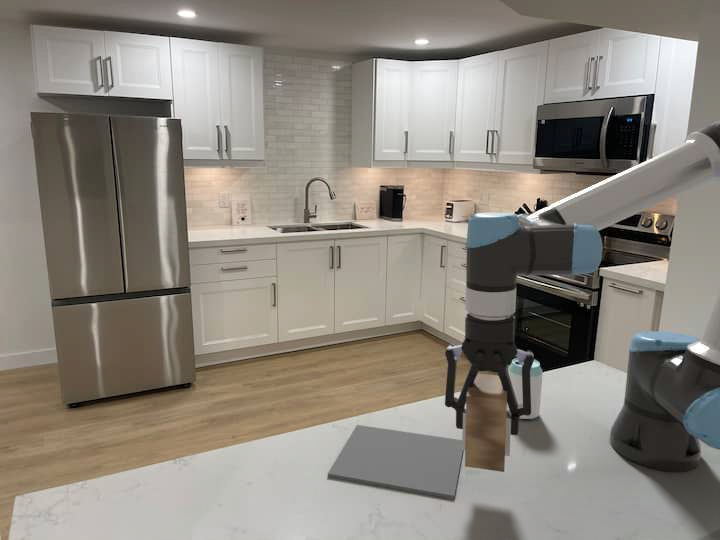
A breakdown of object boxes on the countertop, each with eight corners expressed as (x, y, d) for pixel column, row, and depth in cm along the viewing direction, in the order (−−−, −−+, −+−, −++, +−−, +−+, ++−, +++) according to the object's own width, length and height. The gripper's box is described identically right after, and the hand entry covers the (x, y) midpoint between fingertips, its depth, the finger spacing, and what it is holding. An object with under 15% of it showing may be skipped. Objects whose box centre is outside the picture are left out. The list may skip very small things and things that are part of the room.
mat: (464, 443, 103) (464, 440, 103) (454, 499, 86) (454, 495, 86) (357, 427, 109) (357, 424, 109) (327, 476, 92) (327, 473, 92)
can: (521, 424, 110) (525, 371, 108) (498, 410, 116) (501, 359, 114) (546, 417, 114) (550, 364, 111) (522, 403, 120) (526, 354, 117)
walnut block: (505, 442, 90) (507, 376, 87) (504, 471, 81) (506, 400, 79) (469, 437, 91) (471, 373, 89) (464, 466, 83) (466, 396, 80)
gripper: (553, 310, 82) (546, 444, 87) (432, 303, 88) (431, 430, 92) (557, 324, 75) (548, 469, 80) (425, 316, 80) (424, 453, 85)
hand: (486, 448), depth 86 cm, fingers closed on walnut block, 6 cm apart
